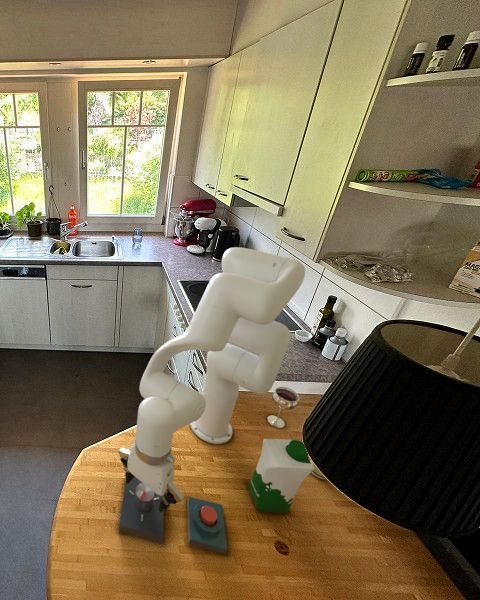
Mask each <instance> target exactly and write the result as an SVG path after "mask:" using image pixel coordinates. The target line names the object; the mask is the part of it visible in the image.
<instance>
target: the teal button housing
mask: <svg viewBox="0 0 480 600" xmlns="http://www.w3.org/2000/svg"><path fill="white" fill-rule="evenodd" d="M186 504H187V505H186V506H187V507H186V508H187V512H186V513H187V539H188V540H187V543H188V545H190V546H194V547H198V548H201V549H205V550H208V551H212V552H215V553H219V554H222V555H227V551H228V543H227V534H226V528H225V527H226V525H225V519H224V510H223V504H221V503H217V502H213V501H210V500H209V501H208V500H205V499H200V498H197V497H192V496H188V497H187V500H186ZM204 506H210V507H212V508H213V509H214V510H215V511H216V513H217V520H216V523H215V524H214V525H213V526H208V525H206V524H204V523H203V522H202V520H201V518H200V512H201V509H202V507H204Z"/></svg>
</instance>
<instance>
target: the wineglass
mask: <svg viewBox="0 0 480 600" xmlns="http://www.w3.org/2000/svg"><path fill="white" fill-rule="evenodd" d="M272 401H273V403H274V404H275V405H276V406H277V407H278V409H279V410H278V412H277V415H268V416H267V421H268V423H269V424H270V425H271V426H273V427H275V428H284V427H285V425H286V423H285V421H284V420H283V419H282V418H281V417H280V416H281V413H282V411H283V410H284V411H285V410H286V411H289V410H293V409H295V408H296V407H297V406H298V403H299V401H300V395H299V394H298V393H297V392H296V391H295V390H293V389H292V388H290V387H286V386H276V388H275V389H274V391H273V393H272Z"/></svg>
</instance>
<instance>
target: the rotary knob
mask: <svg viewBox="0 0 480 600" xmlns="http://www.w3.org/2000/svg"><path fill="white" fill-rule="evenodd" d="M153 499H154V492H153V491H152V490H151V489H150V488H148V487H147V486H146V485H145V484H144V483H141V484H139V485H138V486H137V487H136V492H135V500H134V503H135V506H136V507H137V509H138V510H140V511H142V512H148V511H149V510H151V508H152V505H153Z"/></svg>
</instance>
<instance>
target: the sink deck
mask: <svg viewBox="0 0 480 600" xmlns="http://www.w3.org/2000/svg"><path fill="white" fill-rule="evenodd" d="M141 483H142V482H141V481H140V480H139V479H137V478H136V477H134V478H133V479H132V480H131V481H130V482H129V484H127V483H126V480H125V482H124V490H123V495H122V496H123V497H122V504H121V510H120V517H119V524H118V532H119V533H120V534H121V533H122V534H125V535H129V536H132V537H136V538H139V539H143V540H147V541H151V542H154V543H158V544H162V543H163V540H164V523H165V521H164V520H165V509H164V510H163V511H162V513H161V512H160V511H159V506H160V501H161V500H162V499H161V497H160V495H158V494H156V493H155V492H154V499H153V505H152V508H151V510H149V511H148V512H142V511H140V510H138V509H137V507H136V506H135V503H134V500H135V492H136V487H137V486H138V485H139V484H141Z"/></svg>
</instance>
